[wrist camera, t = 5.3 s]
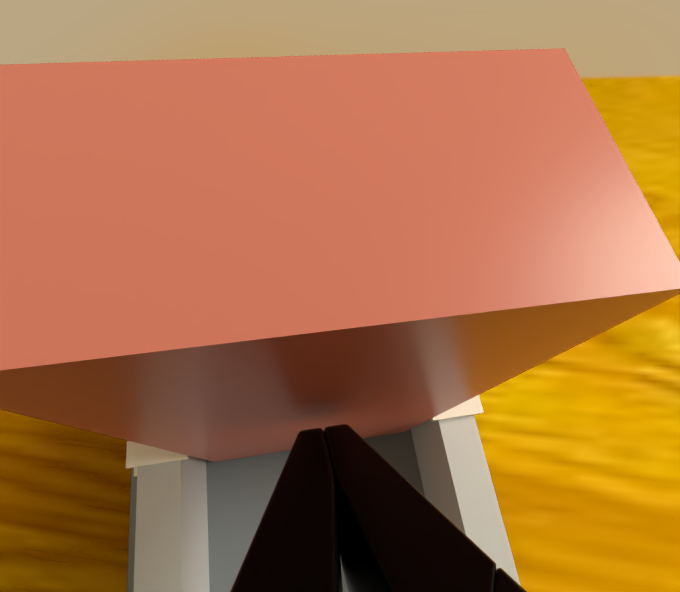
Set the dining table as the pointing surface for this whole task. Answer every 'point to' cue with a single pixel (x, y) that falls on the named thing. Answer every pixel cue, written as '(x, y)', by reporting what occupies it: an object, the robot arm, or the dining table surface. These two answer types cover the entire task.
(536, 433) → the dining table surface
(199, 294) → the plug
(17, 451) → the dining table surface
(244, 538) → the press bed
